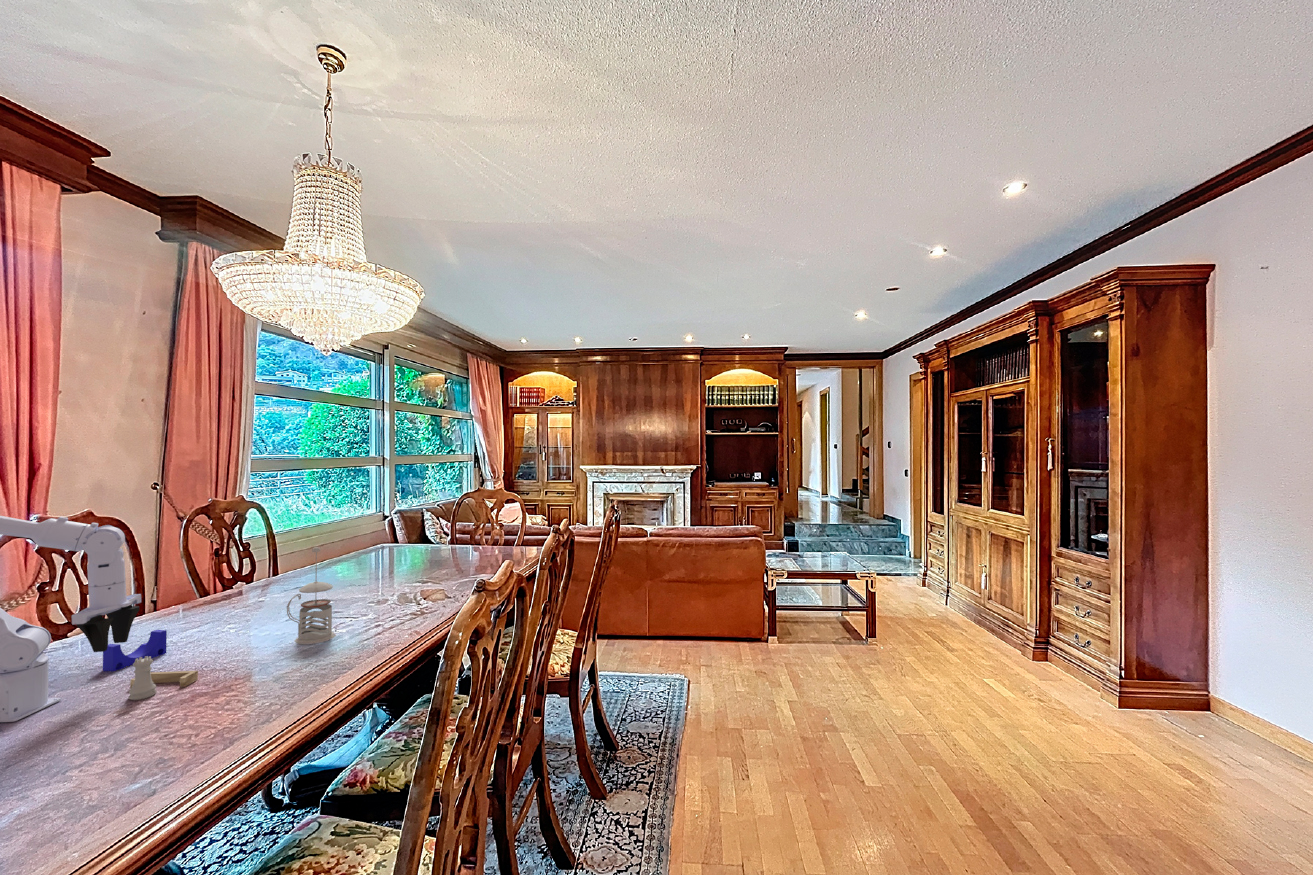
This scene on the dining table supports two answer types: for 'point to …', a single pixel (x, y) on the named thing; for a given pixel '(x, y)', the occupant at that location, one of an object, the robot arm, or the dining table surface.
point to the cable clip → (118, 660)
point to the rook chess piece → (142, 680)
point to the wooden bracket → (172, 677)
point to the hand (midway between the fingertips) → (110, 646)
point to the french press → (314, 614)
